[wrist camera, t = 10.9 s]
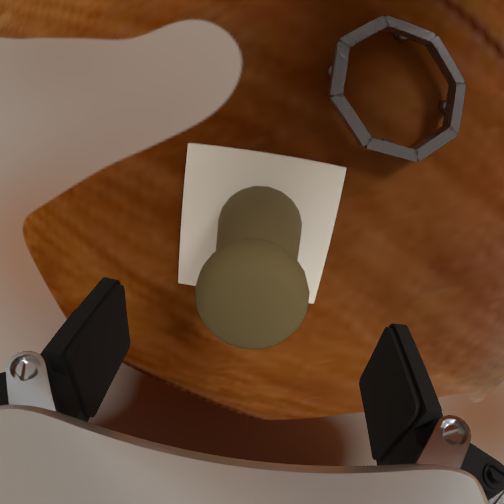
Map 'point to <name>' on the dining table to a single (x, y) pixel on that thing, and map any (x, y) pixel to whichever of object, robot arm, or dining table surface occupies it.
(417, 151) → the ring stand
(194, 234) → the plate
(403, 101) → the dining table surface
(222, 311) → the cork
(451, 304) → the dining table surface
